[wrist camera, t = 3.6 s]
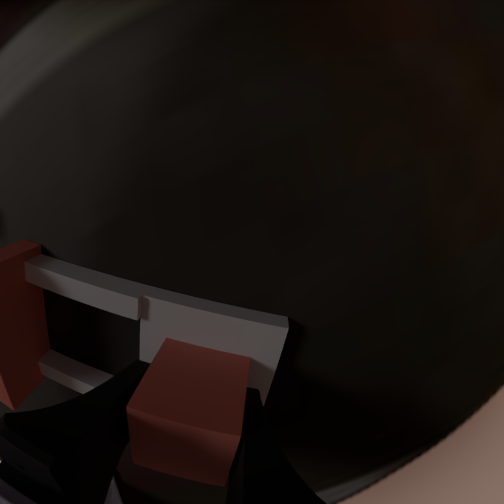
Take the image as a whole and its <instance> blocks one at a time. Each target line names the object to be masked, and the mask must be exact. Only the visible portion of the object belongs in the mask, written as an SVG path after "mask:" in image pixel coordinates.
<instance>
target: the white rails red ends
mask: <svg viewBox="0 0 504 504" xmlns="http://www.w3.org/2000/svg"><path fill="white" fill-rule="evenodd" d="M43 288H44V289H47V290H49V291H52V292H55V293H57V294H60V295H63V296H65V297H68V298H71V299H73V300H76V301H79V302H82V303H85V304H88V305H91V306H93V307H96V308H99V309H102V310H106V311H109V312H112V313H115V314H118V315H121V316H124V317H128V318H131V319H134V320H138V319H139V318H140V317H141V325H140V360H142V361H145V362H148V363H151V364H150V366H149V368H148V369H147V371H146V373H145V374H144V376H143V378H142V380H141V381H140V383H139V385H138V387H137V388H136V390H135V392H134V394H133V395H132V397H131V399H130V401H129V402H128V404H127V406H126V409H127V420H128V429H129V437H130V445H131V452H132V459H133V463H135V464H138V465H141V466H144V467H147V468H150V469H153V470H157V471H160V472H163V473H167V474H170V475H174V476H178V477H182V478H186V479H190V480H194V481H198V482H203V483H208V484H213V485H218V486H223V487H224V485H225V483H226V480H227V477H228V474H229V471H230V468H231V465H232V462H233V459H234V456H235V453H236V450H237V447H238V444H239V441H240V438H241V432H242V424H243V415H244V406H245V398H246V389H247V387H250V388H255V389H258V390H259V391H260V396H261V400H262V404H263V406H264V404H265V401H266V398H267V395H268V392H269V389H270V386H271V383H272V380H273V377H274V374H275V371H276V368H277V365H278V361H279V358H280V355H281V352H282V349H283V346H284V342H285V339H286V336H287V333H288V329H289V326H288V317H285V316H280V315H275V314H270V313H265V312H260V311H255V310H251V309H246V308H241V307H237V306H232V305H227V304H223V303H219V302H214V301H210V300H205V299H201V298H197V297H193V296H189V295H184V294H180V293H176V292H172V291H168V290H164V289H160V288H156V287H153V286H149V285H145V284H141V283H137V282H134V281H130V280H126V279H123V278H119V277H115V276H112V275H108V274H105V273H101V272H98V271H95V270H91V269H88V268H84V267H81V266H78V265H74V264H71V263H68V262H65V261H62V260H58V259H55V258H52V257H49V256H46V255H43V254H41V244H37V243H34V242H31V241H28V240H25V239H24V240H21V241H19V242H16V243H13V244H11V245H8V246H6V247H3V248H1V249H0V401H1V402H2V403H4V404H5V405H7V406H8V407H10V408H11V409H13V410H14V411H15V410H16V409H17V408H18V406H19V405H20V404H21V403H22V402H23V401H24V400H25V399H26V398H27V396H28V395H29V394H30V393H31V392H32V391H33V390H34V389H35V388H36V387H37V386H38V385H39V383H40V382H41V381H42V380H43V379H44V378H45V377H48V378H50V379H52V380H54V381H56V382H58V383H60V384H62V385H64V386H67V387H69V388H71V389H73V390H75V391H77V392H80V393H82V394H84V393H86V392H88V391H90V390H92V389H94V388H95V387H97V386H99V385H101V384H102V383H104V382H105V381H107V380H108V379H110V378H112V377H113V376H114V375H111V374H109V373H106V372H103V371H101V370H98V369H96V368H93V367H91V366H88V365H86V364H83V363H81V362H78V361H76V360H74V359H71V358H69V357H67V356H65V355H62V354H60V353H58V352H56V351H54V350H52V349H51V348H50V342H49V336H48V329H47V322H46V313H45V304H44V294H43Z"/></svg>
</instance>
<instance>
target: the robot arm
mask: <svg viewBox="0 0 504 504" xmlns="http://www.w3.org/2000/svg"><path fill="white" fill-rule="evenodd" d="M150 364H151V363H148V362H145V361H142V360H136V361H134V362H133V363H131V364H130V365H129V366H127V367H126V368H125V369H123V370H122V371H120V372H119V373H117V374H116V375H115V376H113V377H112V378H110V379H108V380H107V381H105V382H104V383H102V384H101V385H99V386H97V387H95V388H94V389H92V390H90V391H88V392H86V393H84V394H82V395H80V396H78V397H76V398H73V399H71V400H69V401H66V402H63V403H60V404H57V405H54V406H51V407H47V408H43V409H38V410H33V411H26V412H17V413H5V414H4V415H3V416H2V417H1V418H0V456H1V457H2V459H3V460H2V462H1V463H0V504H123V503H122V500H121V497H120V494H119V491H118V488H117V484H116V481H115V478H114V473H115V470H116V467H117V465H118V462H119V460H120V457H121V455H122V453H123V451H124V449H125V447H126V445H127V443H128V442H129V440H130V437H129V429H128V420H127V409H126V406H127V404H128V402H129V401H130V399H131V397H132V395H133V394H134V392H135V390H136V388H137V387H138V385H139V383H140V381H141V380H142V378H143V376H144V374H145V373H146V371H147V369H148V368H149V366H150ZM226 504H326V503H325V502H324V501H323V500H321V499H320V498H319V497H318V496H317V495H316V494H315V493H314V492H313V491H312V490H311V489H310V488H309V487H308V486H307V484H306V483H305V482H304V481H303V480H302V478H301V477H300V476H299V475H298V473H297V472H296V471H295V470H294V468H293V467H292V465H291V464H290V462H289V461H288V459H287V458H286V456H285V455H284V453H283V451H282V449H281V448H280V446H279V444H278V442H277V440H276V438H275V436H274V434H273V431H272V429H271V427H270V424H269V422H268V419H267V416H266V414H265V410H264V407H263V404H262V400H261V396H260V391H259V390H258V389H255V388H250V387H247V389H246V398H245V406H244V415H243V424H242V432H241V438H240V441H239V444H238V447H237V450H236V453H235V456H234V459H233V462H232V465H231V468H230V473H229V486H228V492H227V498H226Z"/></svg>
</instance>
